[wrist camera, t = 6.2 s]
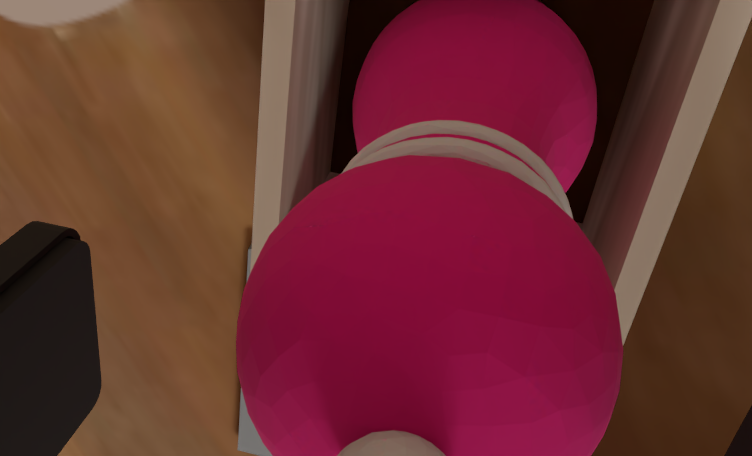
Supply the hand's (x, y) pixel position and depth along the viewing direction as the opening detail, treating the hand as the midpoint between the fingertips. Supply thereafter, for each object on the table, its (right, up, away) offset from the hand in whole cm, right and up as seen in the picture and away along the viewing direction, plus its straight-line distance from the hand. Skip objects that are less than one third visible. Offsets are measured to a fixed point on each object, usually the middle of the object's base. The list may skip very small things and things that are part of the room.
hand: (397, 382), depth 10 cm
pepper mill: (+4, +8, +15) cm, 18 cm away
